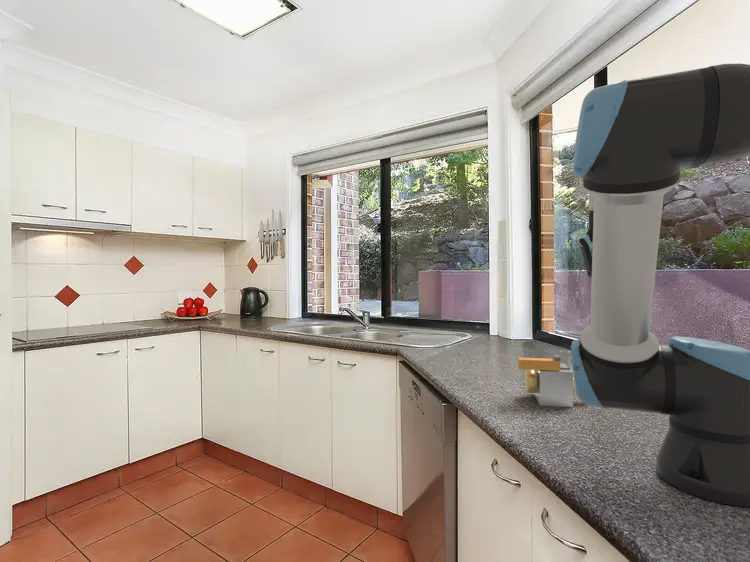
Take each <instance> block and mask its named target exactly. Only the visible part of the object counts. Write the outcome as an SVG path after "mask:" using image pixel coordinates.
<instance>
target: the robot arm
mask: <svg viewBox="0 0 750 562" xmlns="http://www.w3.org/2000/svg"><path fill="white" fill-rule="evenodd" d="M747 156H750V64H746V63H722V64H716V65H715V64H714V65H710V66H708V67H701V68H696V69H690V70H689V69H688V70H685V71H684V70H683V71H678V72H672V73H667V74H666V73H664V74H660V75H659V74H658V75H653V76H647V77H646V76H645V77H641V78H635V79H628V80H627V79H626V80H621V81H619V82H614V83H611V84H607V85H604V86H603V85H602V86H598V87H596V88H593V89H591V90H590V91H589V92H588V93H587V94H586V95H585V97H583V100H582V104H581V108H580V112H579V119H578V125H577V132H576V139H575V145H574V154H573V161H572V176H574V177H576V178H579V179H582V180H583V181H582V188H583V190H584V191H585V192H587V193H588V209H589V210H590V211H589V212H588V230H587V231H586V235H584V236H583V237H581V238H578V239H576V243H577V245H578V247H579V248H580V250H581V253H582V258H583V262H584V266H585V270H586V274H587V277H588V278H590V279H591V286H590V288H591V291H590V292H591V295H590V323H589V325H588V326H586V327H585V328H584V329H582V331H581V334H580V336H579V337H580V338H578V339H574V340H572V341H571V347H570V348H571V350H570V352H571V362H572V370H573V374H574V381H575V387H576V389H575V391H576V395H577V398H578V400H580V401H581V402H582V403H583V404H585V405H589V406H594V407H599V408H601V409H616V410H625V411H633V412H644V413H653V414H661V415H668V429H667V431H666V433H665V436H664V437H663V440H662V442H661V445H660V446H659V449H658V451H657V454H656V457H655V458H656V459H655V460H656V463H655V465H656V467H655V468H656V472H657V474H658V475H659V477H660V478H662V479H663V480H664V481H665V482H667V483H668V484H670V485H671V486H673V487H675V488H677V489H679V490H681V491H682V492H685V493H688V494H690V495H692V496H696V497H698V498H701V499H705V500H709V501H712V502H715V503H719V504H723V505H730V506H735V507H742V508H743V507H745V508H747V507H748V508H750V350H749V349H747V348H744V347H742V346H737V345H735V344H734V345H733V344H728V343H724V342H721V341H720V342H719V341H715V340H710V339H704V338H697V337H689V336H678V335H677V336H676V335H675V336H671V337H670V338H669V340H668V343H667V344H660V342H659V339H658V338H657V336H656V335H655V334H654V333H653V332H651V331H650V330H651V329H650V328H651V319H652V311H653V301H654V291H655V281H656V271H657V263H658V262H657V261H658V252H659V243H660V232H661V226H662V225H661V224H662V222H661V221H662V217H663V216H662V215H663V213H662V212H663V206H664V205H663V203H664V197H665V194H667V193H668V192H670V191H671V190H672V189H674V188H675V187H676V186H677V185H678V184H679V182H680V174H681V170H683V169H684V170H685V169H689V170H690V169H699V168H702V167H709V166H712V165H713V164H716V163H722V162H728V161H732V160H736V159H740V158H744V157H747ZM590 242H591V244H592V251H591V248H590V245H589V244H590Z"/></svg>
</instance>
